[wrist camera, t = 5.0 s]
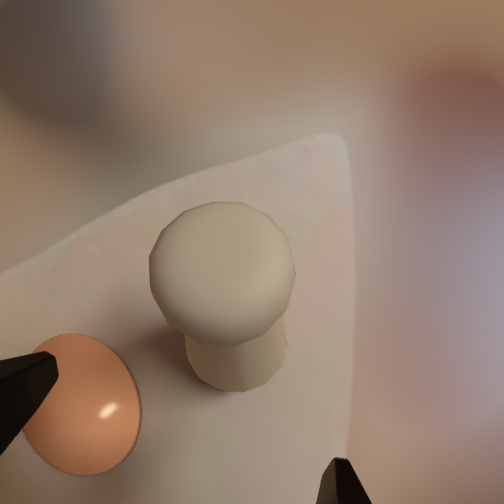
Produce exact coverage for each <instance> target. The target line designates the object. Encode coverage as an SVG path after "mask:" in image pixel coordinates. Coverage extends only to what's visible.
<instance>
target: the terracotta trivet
mask: <svg viewBox="0 0 504 504" xmlns="http://www.w3.org/2000/svg"><path fill="white" fill-rule="evenodd" d="M42 351H47V352H49V353H51V354H52V355H54V356H55V357H56V361H57V366H58V372H59V377H58V380H57V382H56V383H55V385H54V386H53V388H52V389H51V391H50V392H49V394H48V395H47V396H46V398H45V399H44V401H43V402H42V404H41V406H40V407H39V408H38V410H37V411H36V412H35V414H34V415H33V416H32V417H31V419H30V420H29V421H28V422H27V423H26V425H25V426H24V427H23V429H24V431H25V433H26V436H27V438H28V439H29V441H30V442H31V444H32V446H33V447H34V448H35V449H36V451H37V452H38V453H39V454H40V455H41V456H42V457H43V458H44V459H45V460H46V461H48V462H49V463H50V464H51V465H53V466H55V467H56V468H58V469H60V470H62V471H64V472H67V473H71V474H75V475H95V474H99V473H103V472H106V471H108V470H111V469H113V468H114V467H116V466H118V465H119V464H120V463H121V462H123V461H124V460H125V458H126V457H127V456H128V455H129V454H130V452H131V451H132V449H133V448H134V445H135V443H136V441H137V439H138V435H139V432H140V427H141V417H142V410H141V400H140V395H139V391H138V388H137V385H136V382H135V380H134V378H133V376H132V374H131V372H130V370H129V369H128V367H127V365H126V364H125V363H124V362H123V360H122V359H121V358H120V357H119V356H118V355H117V354H116V353H115V352H114V351H113V350H111V349H110V348H109V347H107V346H106V345H104V344H102V343H101V342H99V341H97V340H95V339H93V338H90V337H88V336H84V335H80V334H64V335H59V336H56V337H53V338H51V339H49V340H47V341H45V342H44V343H42V344H41V345H40V346H39V347H37V348H36V349H35V350H34V351H33V353H37V352H42ZM33 353H32V354H33Z"/></svg>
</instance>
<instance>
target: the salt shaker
mask: <svg viewBox="0 0 504 504" xmlns="http://www.w3.org/2000/svg"><path fill="white" fill-rule="evenodd" d="M149 275H150V288H151V291H152V295H153V297H154V299H155V301H156V303H157V304H158V306H159V308H160V310H161V311H162V313H163V315H164V317H165V318H166V320H167V322H168V323H169V324H170V325H171V326H173V327H174V328H175V329H177V330H178V331H180V332H182V333H183V334H184V337H185V345H186V353H187V359H188V361H189V363H190V364H191V366H192V368H193V369H194V371H195V372H196V374H197V376H198V377H199V378H200V379H201V380H203V381H205V382H206V383H208V384H210V385H212V386H213V387H215V388H217V389H219V390H223V391H234V392H246V391H248V390H251V389H254V388H256V387H259V386H261V385H264V384H266V383H267V382H268V381H269V380H270V379H271V378H272V377H273V376H274V375H275V373H276V372H277V371H278V370H279V369H280V368H281V367H282V365H283V361H284V357H285V354H286V350H287V346H288V342H287V337H286V331H285V326H284V322H283V318H282V315H283V314H284V313H285V311H286V309H287V307H288V305H289V301H290V297H291V293H292V289H293V285H294V281H295V276H296V272H295V264H294V260H293V256H292V252H291V247H290V243H289V239H288V236H287V235H286V234H285V233H284V232H283V230H282V229H281V228H280V227H279V226H278V225H277V224H276V223H275V222H274V220H273V219H272V218H271V217H270V216H269V215H267V214H265V213H263V212H261V211H259V210H257V209H254V208H252V207H250V206H248V205H246V204H244V203H233V202H211V203H208V204H204V205H201V206H198V207H195V208H192V209H189V210H186V211H184V212H183V213H181V214H180V215H179V216H178V217H177V218H176V219H174V220H173V221H172V222H171V223H170V224H169V225H167V226H166V227H165V228H164V229H163V230H162V231H161V233H160V235H159V237H158V239H157V241H156V243H155V245H154V247H153V249H152V251H151V253H150V255H149Z"/></svg>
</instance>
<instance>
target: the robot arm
mask: <svg viewBox="0 0 504 504" xmlns="http://www.w3.org/2000/svg"><path fill="white" fill-rule="evenodd" d="M58 377H59V372H58V366H57V361H56V357H55V356H54V355H52V354H51V353H49V352H47V351H42V352H37V353H33V354H28V355H24V356H19V357H14V358H10V359H5V360H0V456H1V454H2V453H3V452H4V451H5V449H6V448H7V447H8V446H9V444H10V443H11V442H12V441H13V439H14V438H15V437H16V436H17V434H18V433H19V432H20V431H21V430H22V428H23V427H24V426H25V425H26V423H27V422H28V421H29V420H30V419H31V417H32V416H33V415H34V414H35V412H36V411H37V410H38V408H39V407H40V406H41V404H42V402H43V401H44V399H45V398H46V396H47V395H48V394H49V392H50V391H51V389H52V388H53V386H54V385H55V383H56V382H57V380H58ZM316 504H372V503H371V501H370V499H369V497H368V496H367V494H366V492H365V490H364V488H363V486H362V484H361V482H360V480H359V479H358V477H357V475H356V473H355V471H354V469H353V467H352V465H351V464H350V462H349V460H348V459H344V458H338V457H335V458H333V460H332V461H331V462H330V464H329V465H328V467H327V468H326V470H325V471H324V473H323V476H322V479H321V484H320V488H319V493H318V497H317V502H316Z"/></svg>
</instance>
